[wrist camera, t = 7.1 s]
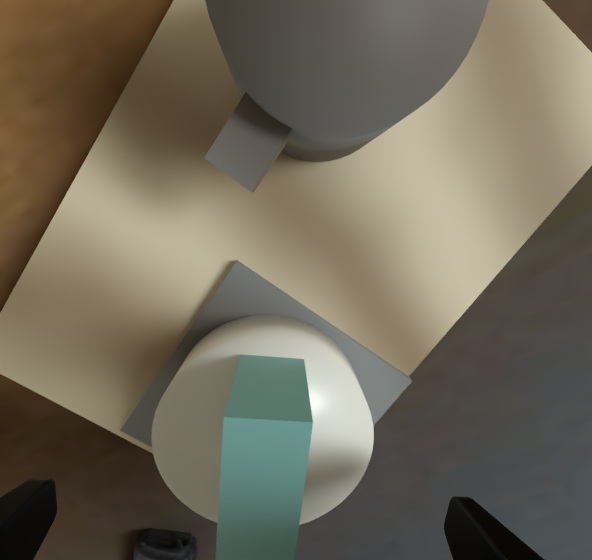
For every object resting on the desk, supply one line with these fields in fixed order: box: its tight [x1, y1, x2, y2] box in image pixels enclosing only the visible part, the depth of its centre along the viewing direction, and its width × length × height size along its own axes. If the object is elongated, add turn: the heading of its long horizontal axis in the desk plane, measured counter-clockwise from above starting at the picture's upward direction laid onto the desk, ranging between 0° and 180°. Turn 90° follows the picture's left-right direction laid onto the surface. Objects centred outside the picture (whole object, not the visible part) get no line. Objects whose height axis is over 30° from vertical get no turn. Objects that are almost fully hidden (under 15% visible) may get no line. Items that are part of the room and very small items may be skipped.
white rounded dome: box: [151, 314, 374, 560], centre depth 8 cm, size 6×6×4 cm
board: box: [0, 0, 592, 453], centre depth 8 cm, size 18×12×5 cm, turn 144°
